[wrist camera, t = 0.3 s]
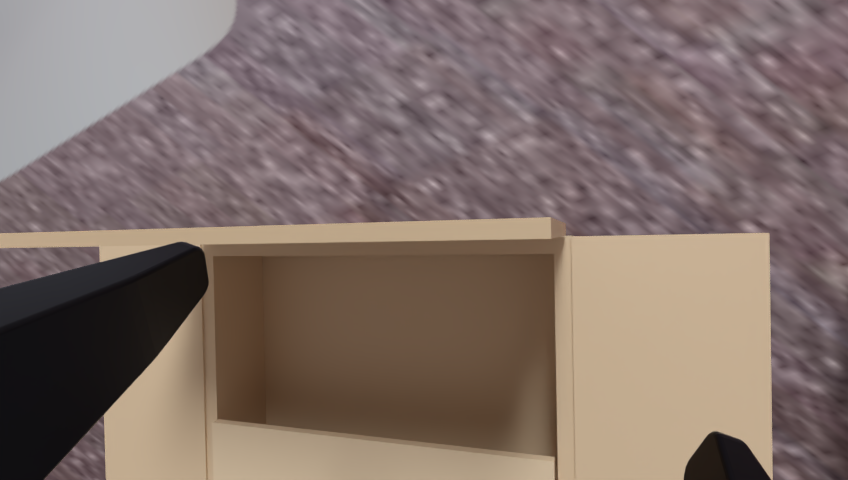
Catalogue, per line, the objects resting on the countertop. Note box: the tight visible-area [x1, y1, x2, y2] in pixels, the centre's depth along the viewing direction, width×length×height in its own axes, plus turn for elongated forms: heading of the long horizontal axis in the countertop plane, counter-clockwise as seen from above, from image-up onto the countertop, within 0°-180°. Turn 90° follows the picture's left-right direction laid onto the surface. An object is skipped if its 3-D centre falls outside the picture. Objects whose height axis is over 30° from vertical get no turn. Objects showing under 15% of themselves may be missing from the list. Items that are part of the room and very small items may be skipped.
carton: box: [99, 233, 773, 480], centre depth 22 cm, size 16×28×4 cm, turn 91°
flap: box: [0, 217, 566, 248], centre depth 16 cm, size 8×16×1 cm
